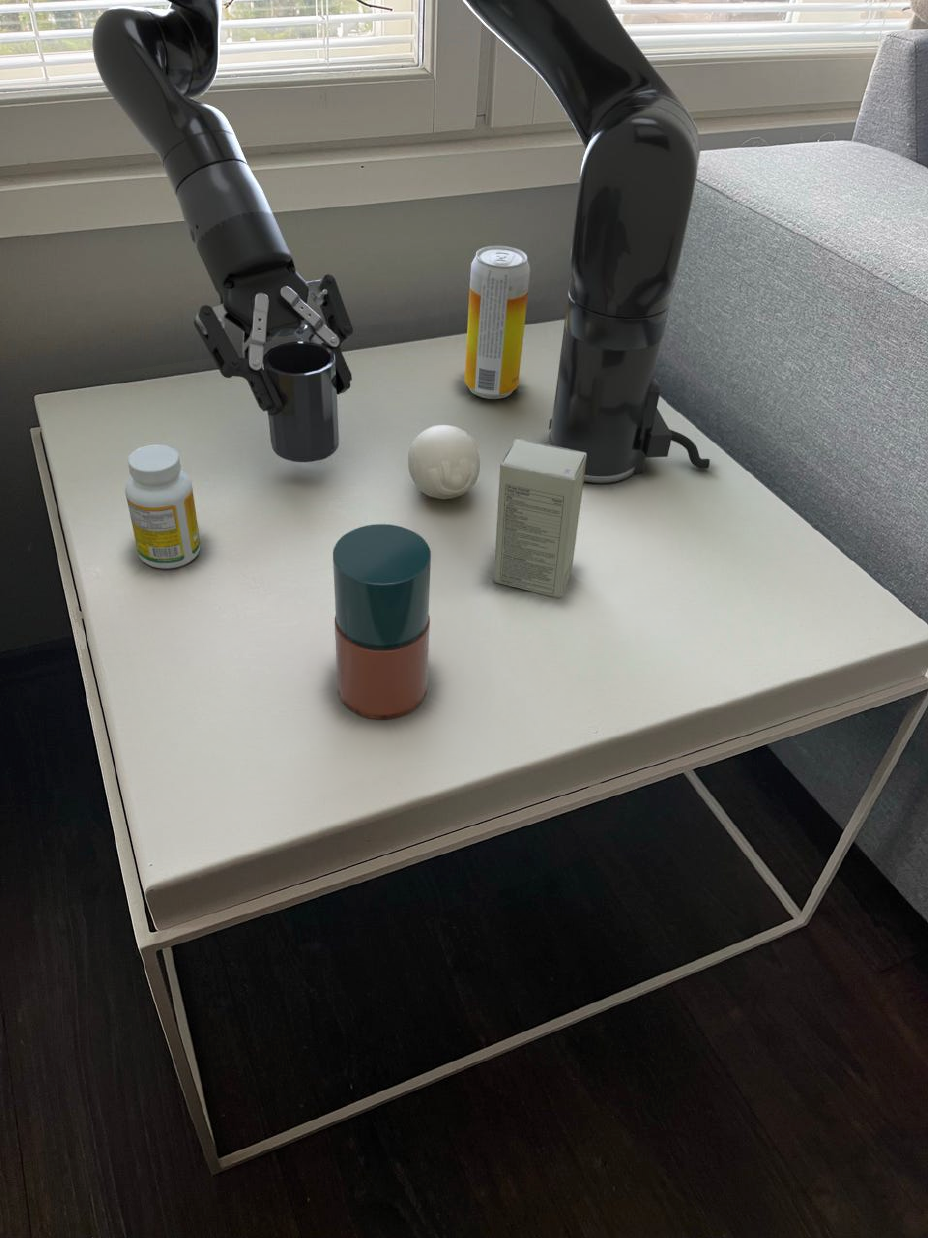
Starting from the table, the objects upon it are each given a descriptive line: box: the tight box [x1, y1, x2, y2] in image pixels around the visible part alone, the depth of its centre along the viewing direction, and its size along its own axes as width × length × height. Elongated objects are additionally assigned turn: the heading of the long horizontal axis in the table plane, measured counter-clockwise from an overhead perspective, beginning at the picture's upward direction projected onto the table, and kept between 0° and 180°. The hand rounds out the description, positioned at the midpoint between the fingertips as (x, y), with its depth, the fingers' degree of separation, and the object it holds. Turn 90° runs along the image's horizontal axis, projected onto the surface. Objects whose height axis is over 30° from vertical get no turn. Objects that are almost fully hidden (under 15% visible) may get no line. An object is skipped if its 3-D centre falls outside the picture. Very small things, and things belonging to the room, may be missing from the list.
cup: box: [262, 341, 340, 463], centre depth 90 cm, size 6×6×9 cm
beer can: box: [463, 245, 531, 400], centre depth 104 cm, size 6×6×15 cm
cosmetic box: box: [492, 438, 587, 598], centre depth 81 cm, size 6×4×12 cm
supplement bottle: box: [124, 444, 202, 570], centre depth 82 cm, size 5×5×10 cm
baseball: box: [407, 424, 481, 500], centre depth 91 cm, size 7×7×7 cm
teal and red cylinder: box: [332, 523, 432, 720], centre depth 70 cm, size 7×7×13 cm
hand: (311, 400), depth 89 cm, fingers closed on cup, 6 cm apart
